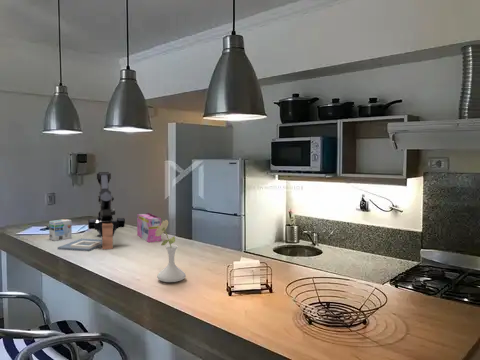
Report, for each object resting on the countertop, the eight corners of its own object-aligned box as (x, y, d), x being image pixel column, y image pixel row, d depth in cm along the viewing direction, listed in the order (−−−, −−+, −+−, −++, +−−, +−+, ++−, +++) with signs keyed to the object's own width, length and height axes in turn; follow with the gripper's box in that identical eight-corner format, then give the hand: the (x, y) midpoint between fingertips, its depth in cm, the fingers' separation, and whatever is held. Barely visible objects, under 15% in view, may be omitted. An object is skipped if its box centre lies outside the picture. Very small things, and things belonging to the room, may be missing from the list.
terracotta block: (102, 247, 215) (102, 223, 214) (111, 246, 216) (112, 222, 216) (102, 249, 210) (102, 224, 209) (112, 248, 212) (112, 224, 211)
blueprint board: (81, 240, 231) (81, 236, 231) (110, 241, 227) (110, 238, 227) (57, 249, 209) (57, 245, 209) (89, 251, 206) (89, 246, 206)
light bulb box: (54, 241, 228) (54, 222, 227) (48, 239, 232) (48, 221, 231) (72, 238, 236) (72, 220, 236) (66, 236, 240) (66, 218, 240)
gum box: (136, 234, 248) (136, 213, 247) (148, 233, 252) (148, 212, 251) (148, 242, 228) (148, 218, 227) (161, 241, 232) (161, 217, 231)
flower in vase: (172, 274, 169) (172, 215, 167) (191, 279, 162) (191, 218, 160) (147, 281, 159) (147, 219, 157) (166, 288, 152) (166, 222, 150)
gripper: (87, 204, 212) (88, 228, 202) (124, 202, 219) (126, 226, 209) (87, 216, 220) (88, 240, 210) (123, 215, 227) (125, 238, 217)
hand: (107, 236), depth 211 cm, fingers closed on terracotta block, 5 cm apart
